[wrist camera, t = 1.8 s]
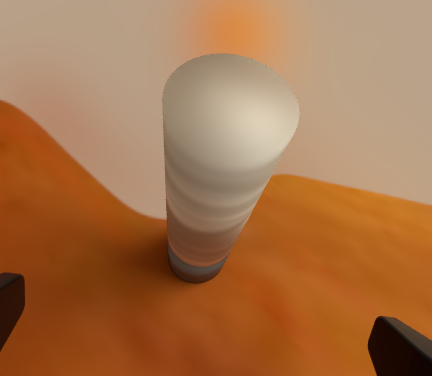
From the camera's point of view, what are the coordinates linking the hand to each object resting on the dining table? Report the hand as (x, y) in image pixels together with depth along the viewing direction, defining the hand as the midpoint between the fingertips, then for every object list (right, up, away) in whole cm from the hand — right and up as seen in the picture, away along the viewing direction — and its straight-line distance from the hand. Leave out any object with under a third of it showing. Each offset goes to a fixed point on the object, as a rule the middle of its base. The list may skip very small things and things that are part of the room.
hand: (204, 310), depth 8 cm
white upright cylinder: (-1, -1, +12) cm, 13 cm away
